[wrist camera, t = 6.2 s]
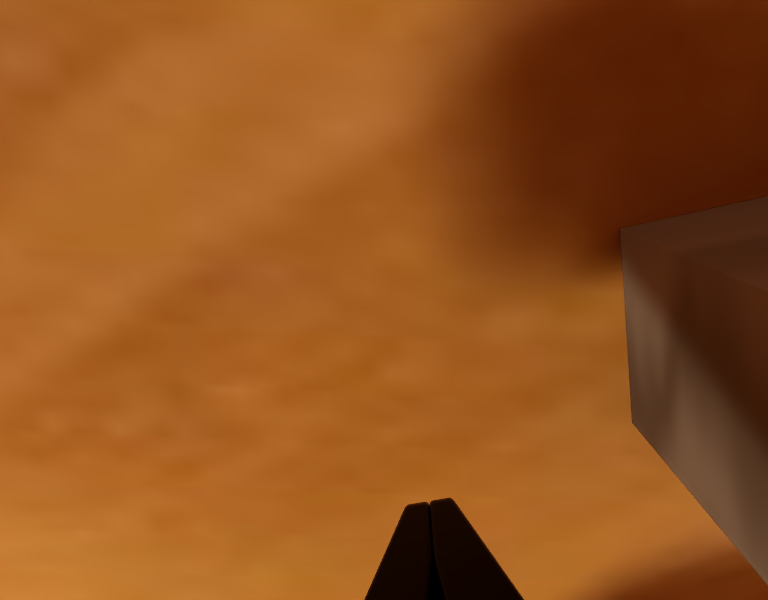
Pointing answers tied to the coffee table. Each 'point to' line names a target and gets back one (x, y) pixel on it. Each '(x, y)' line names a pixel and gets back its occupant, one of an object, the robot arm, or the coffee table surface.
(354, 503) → the coffee table surface
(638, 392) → the walnut brick
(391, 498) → the coffee table surface
